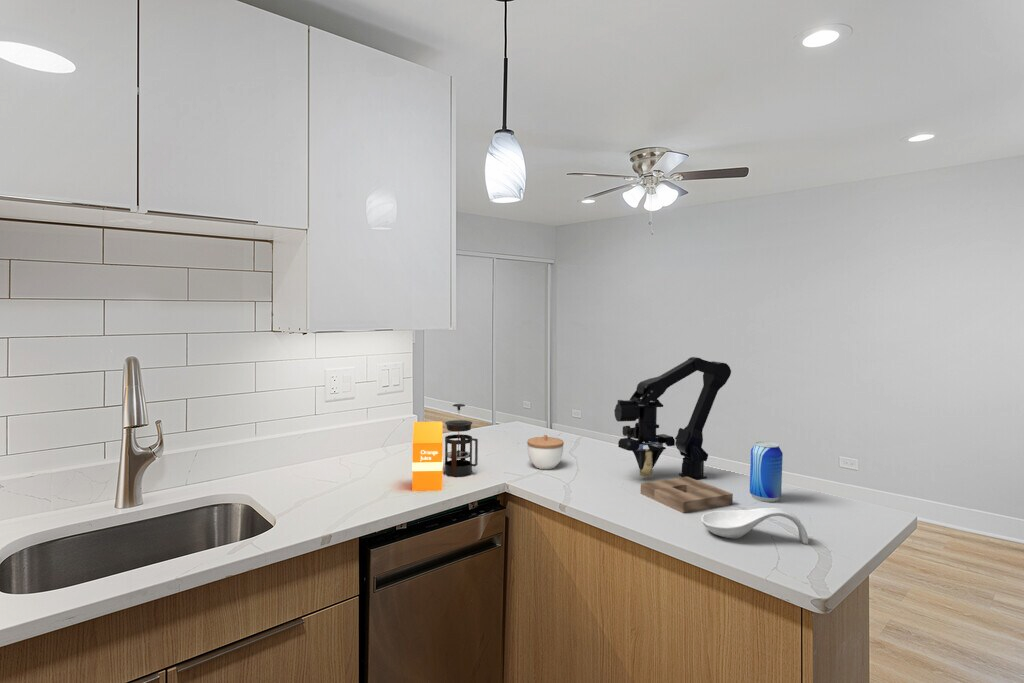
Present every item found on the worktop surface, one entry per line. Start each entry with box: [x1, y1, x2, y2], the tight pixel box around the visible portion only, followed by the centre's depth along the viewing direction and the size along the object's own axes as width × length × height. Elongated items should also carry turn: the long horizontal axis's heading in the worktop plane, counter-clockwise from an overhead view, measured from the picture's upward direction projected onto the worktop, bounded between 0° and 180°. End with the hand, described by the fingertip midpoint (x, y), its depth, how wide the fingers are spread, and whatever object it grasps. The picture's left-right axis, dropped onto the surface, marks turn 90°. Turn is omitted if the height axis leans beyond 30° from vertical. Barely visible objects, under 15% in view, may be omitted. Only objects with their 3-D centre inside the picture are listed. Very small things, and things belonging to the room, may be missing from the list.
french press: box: [443, 403, 479, 478], centre depth 184 cm, size 12×9×23 cm
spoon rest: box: [700, 507, 809, 545], centre depth 135 cm, size 24×12×7 cm, turn 77°
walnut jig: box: [640, 476, 734, 514], centre depth 161 cm, size 18×18×3 cm
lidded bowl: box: [526, 434, 565, 470], centre depth 194 cm, size 13×13×11 cm
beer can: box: [749, 441, 783, 503], centre depth 163 cm, size 8×8×16 cm
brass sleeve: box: [639, 448, 654, 478], centre depth 180 cm, size 4×4×8 cm
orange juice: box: [411, 421, 444, 492], centre depth 169 cm, size 8×9×20 cm
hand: (646, 468), depth 180 cm, fingers closed on brass sleeve, 4 cm apart
